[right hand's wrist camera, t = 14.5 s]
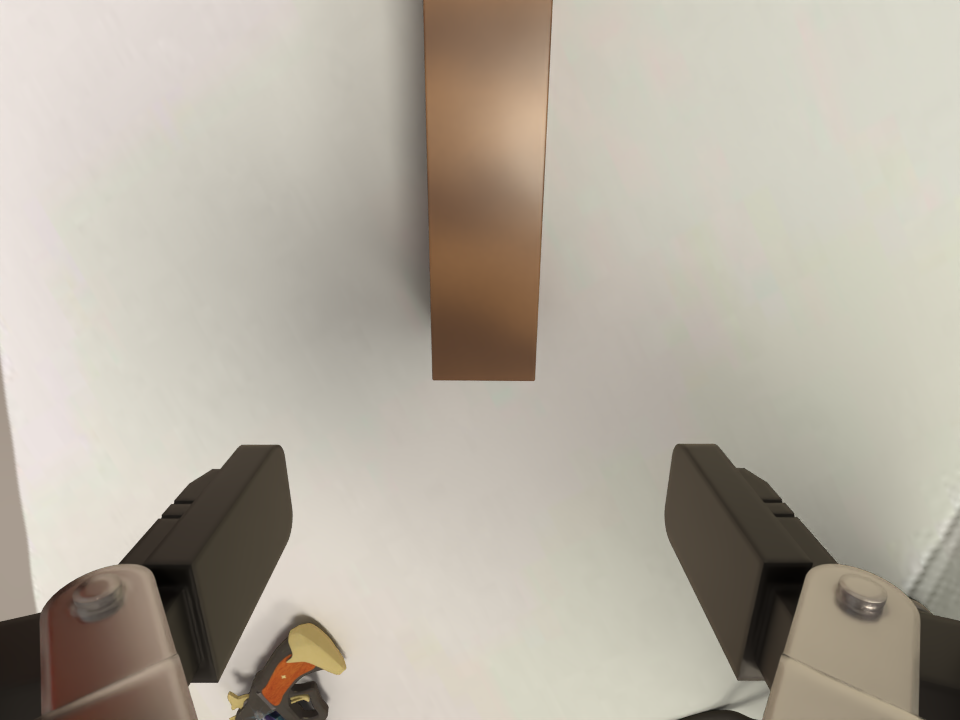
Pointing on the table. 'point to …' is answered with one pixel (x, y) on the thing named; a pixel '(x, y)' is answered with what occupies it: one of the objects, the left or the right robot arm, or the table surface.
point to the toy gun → (290, 679)
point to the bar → (485, 182)
